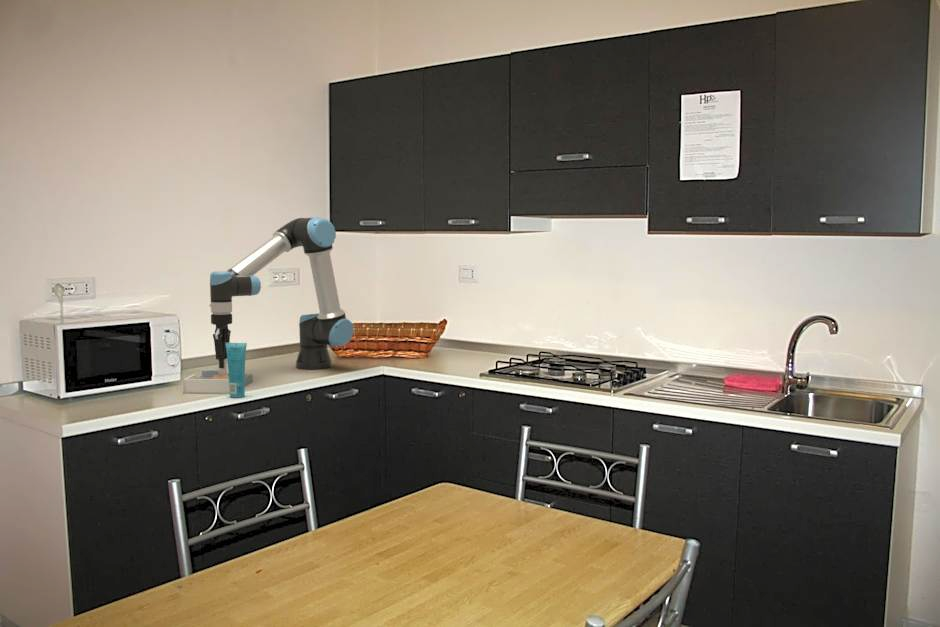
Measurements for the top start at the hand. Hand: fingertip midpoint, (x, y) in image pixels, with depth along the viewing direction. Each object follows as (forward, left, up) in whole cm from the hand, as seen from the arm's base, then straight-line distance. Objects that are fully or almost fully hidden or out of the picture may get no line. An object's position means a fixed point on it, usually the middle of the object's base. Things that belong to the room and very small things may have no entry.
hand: (222, 376), depth 302 cm
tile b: (+7, -9, -1) cm, 11 cm away
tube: (-10, +15, -5) cm, 19 cm away
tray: (+2, +5, -4) cm, 7 cm away
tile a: (0, +3, -3) cm, 4 cm away
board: (+2, -7, -4) cm, 8 cm away
